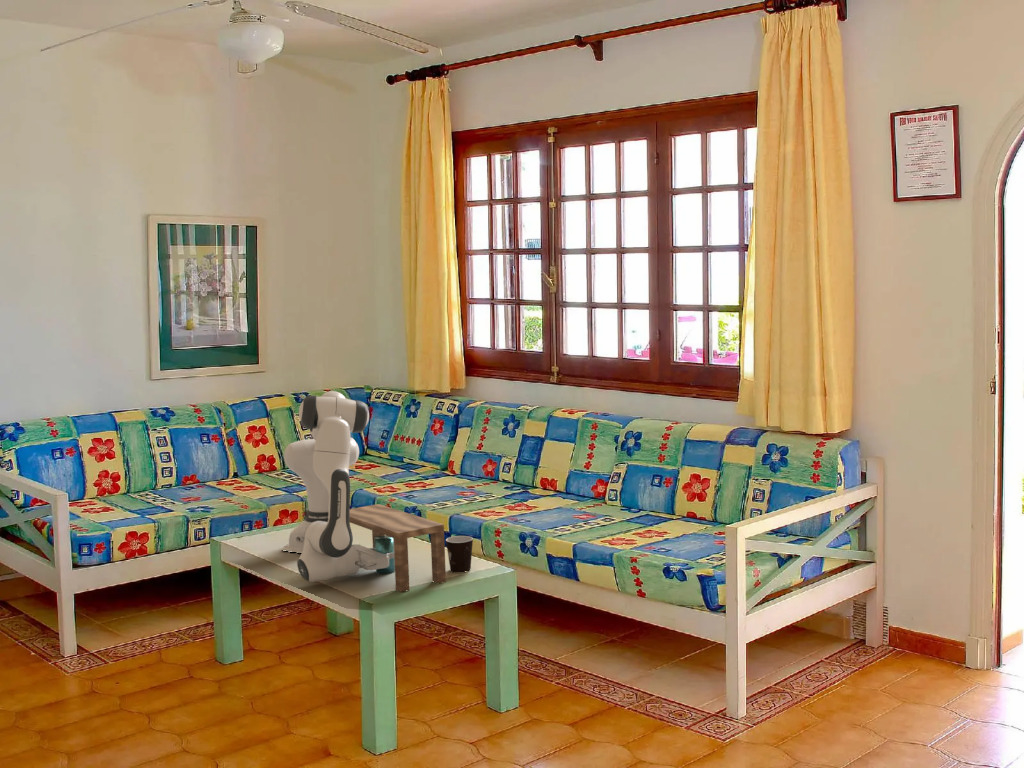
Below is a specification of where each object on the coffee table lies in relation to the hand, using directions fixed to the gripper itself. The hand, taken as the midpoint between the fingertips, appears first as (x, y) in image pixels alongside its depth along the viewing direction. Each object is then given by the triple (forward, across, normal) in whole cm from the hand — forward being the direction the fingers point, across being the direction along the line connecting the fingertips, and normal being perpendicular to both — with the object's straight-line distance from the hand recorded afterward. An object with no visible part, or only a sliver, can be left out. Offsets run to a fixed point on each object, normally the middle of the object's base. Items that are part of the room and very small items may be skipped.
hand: (387, 552), depth 342 cm
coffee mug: (+17, -16, +6) cm, 24 cm away
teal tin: (-1, 0, +6) cm, 6 cm away
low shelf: (-1, -3, +6) cm, 7 cm away
